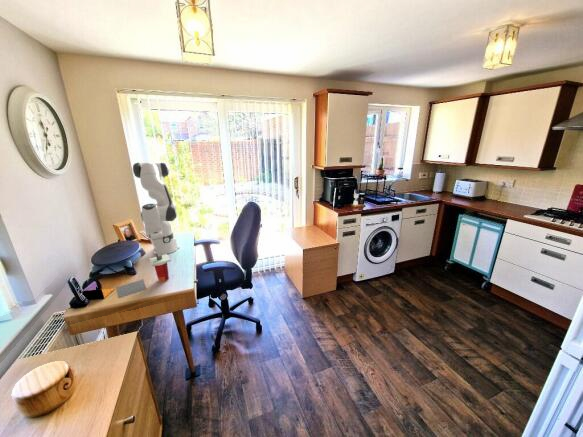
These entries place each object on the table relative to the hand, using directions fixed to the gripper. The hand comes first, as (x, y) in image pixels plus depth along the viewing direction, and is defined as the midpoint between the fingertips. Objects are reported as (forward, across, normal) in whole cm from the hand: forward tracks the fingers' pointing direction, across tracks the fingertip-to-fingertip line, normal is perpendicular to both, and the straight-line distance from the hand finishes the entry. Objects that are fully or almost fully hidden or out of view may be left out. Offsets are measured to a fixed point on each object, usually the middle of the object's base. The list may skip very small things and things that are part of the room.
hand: (158, 252), depth 144 cm
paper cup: (+19, 0, 0) cm, 19 cm away
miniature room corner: (+20, -6, -32) cm, 38 cm away
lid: (+5, 0, 0) cm, 5 cm away
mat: (+19, -2, -17) cm, 26 cm away
